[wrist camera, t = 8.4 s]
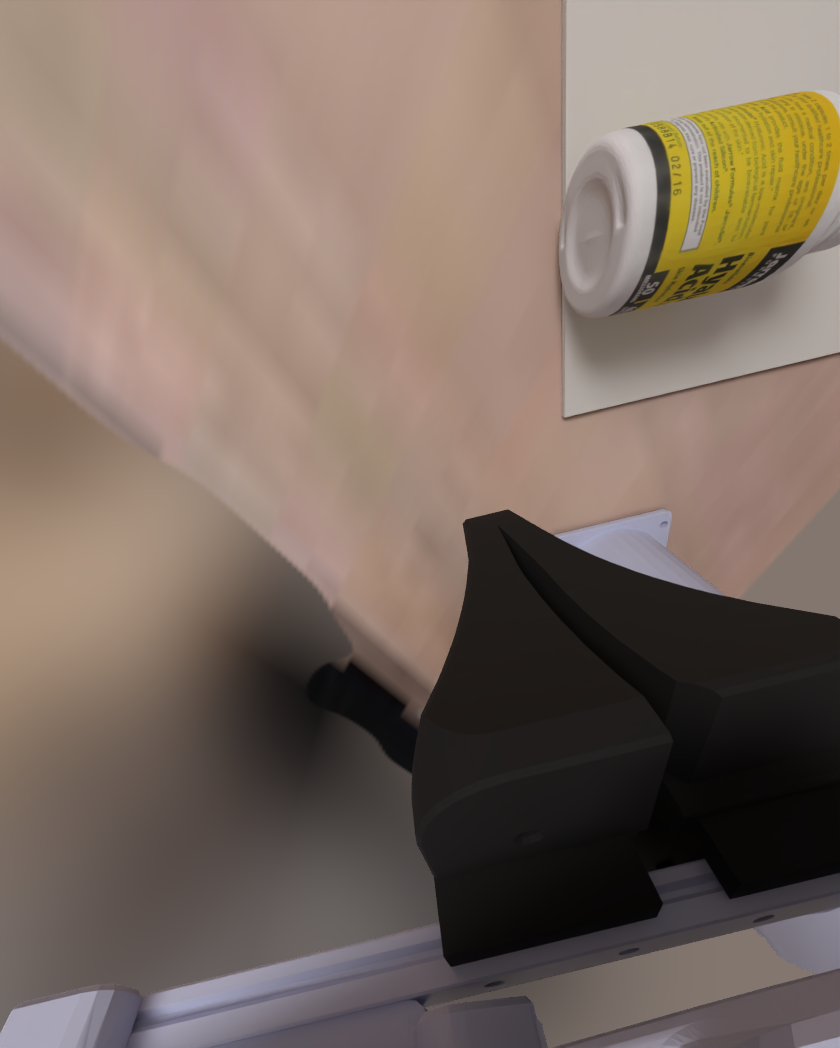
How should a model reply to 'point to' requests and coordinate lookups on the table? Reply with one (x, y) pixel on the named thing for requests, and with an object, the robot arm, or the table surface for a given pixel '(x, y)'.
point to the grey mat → (672, 91)
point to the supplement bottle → (701, 203)
